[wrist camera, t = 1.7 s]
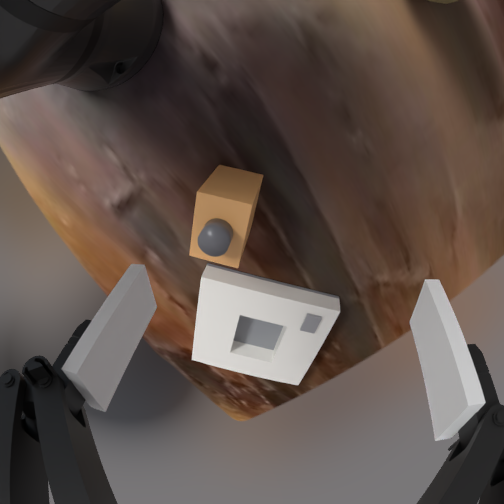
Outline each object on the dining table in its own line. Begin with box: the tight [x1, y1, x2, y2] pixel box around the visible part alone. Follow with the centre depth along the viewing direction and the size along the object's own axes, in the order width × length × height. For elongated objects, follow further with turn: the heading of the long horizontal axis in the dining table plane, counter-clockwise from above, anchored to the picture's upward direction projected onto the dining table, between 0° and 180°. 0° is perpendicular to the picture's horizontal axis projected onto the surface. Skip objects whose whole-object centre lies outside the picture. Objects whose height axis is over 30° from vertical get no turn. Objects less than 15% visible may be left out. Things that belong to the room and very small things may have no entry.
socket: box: [192, 263, 340, 385], centre depth 45 cm, size 18×18×3 cm
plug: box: [189, 165, 263, 268], centre depth 31 cm, size 5×7×10 cm
